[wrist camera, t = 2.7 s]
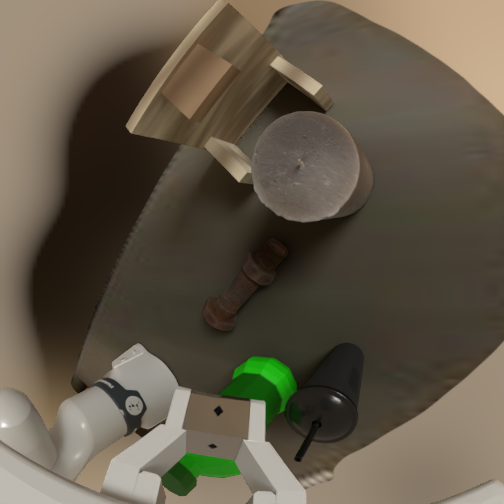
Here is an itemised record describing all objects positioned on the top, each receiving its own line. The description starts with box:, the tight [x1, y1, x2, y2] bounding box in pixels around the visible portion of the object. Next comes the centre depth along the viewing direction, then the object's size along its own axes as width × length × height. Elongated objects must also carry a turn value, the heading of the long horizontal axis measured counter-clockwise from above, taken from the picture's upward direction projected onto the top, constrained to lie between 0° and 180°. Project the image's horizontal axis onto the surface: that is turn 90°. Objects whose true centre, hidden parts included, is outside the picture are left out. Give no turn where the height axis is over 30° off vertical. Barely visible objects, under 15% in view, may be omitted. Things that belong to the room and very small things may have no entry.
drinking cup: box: [285, 343, 364, 462], centre depth 29 cm, size 8×8×20 cm
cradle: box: [126, 0, 334, 185], centre depth 30 cm, size 9×16×18 cm, turn 136°
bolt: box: [202, 238, 288, 331], centre depth 41 cm, size 6×5×15 cm
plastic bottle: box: [161, 356, 297, 496], centre depth 32 cm, size 10×10×25 cm
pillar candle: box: [251, 111, 374, 223], centre depth 29 cm, size 10×10×15 cm
